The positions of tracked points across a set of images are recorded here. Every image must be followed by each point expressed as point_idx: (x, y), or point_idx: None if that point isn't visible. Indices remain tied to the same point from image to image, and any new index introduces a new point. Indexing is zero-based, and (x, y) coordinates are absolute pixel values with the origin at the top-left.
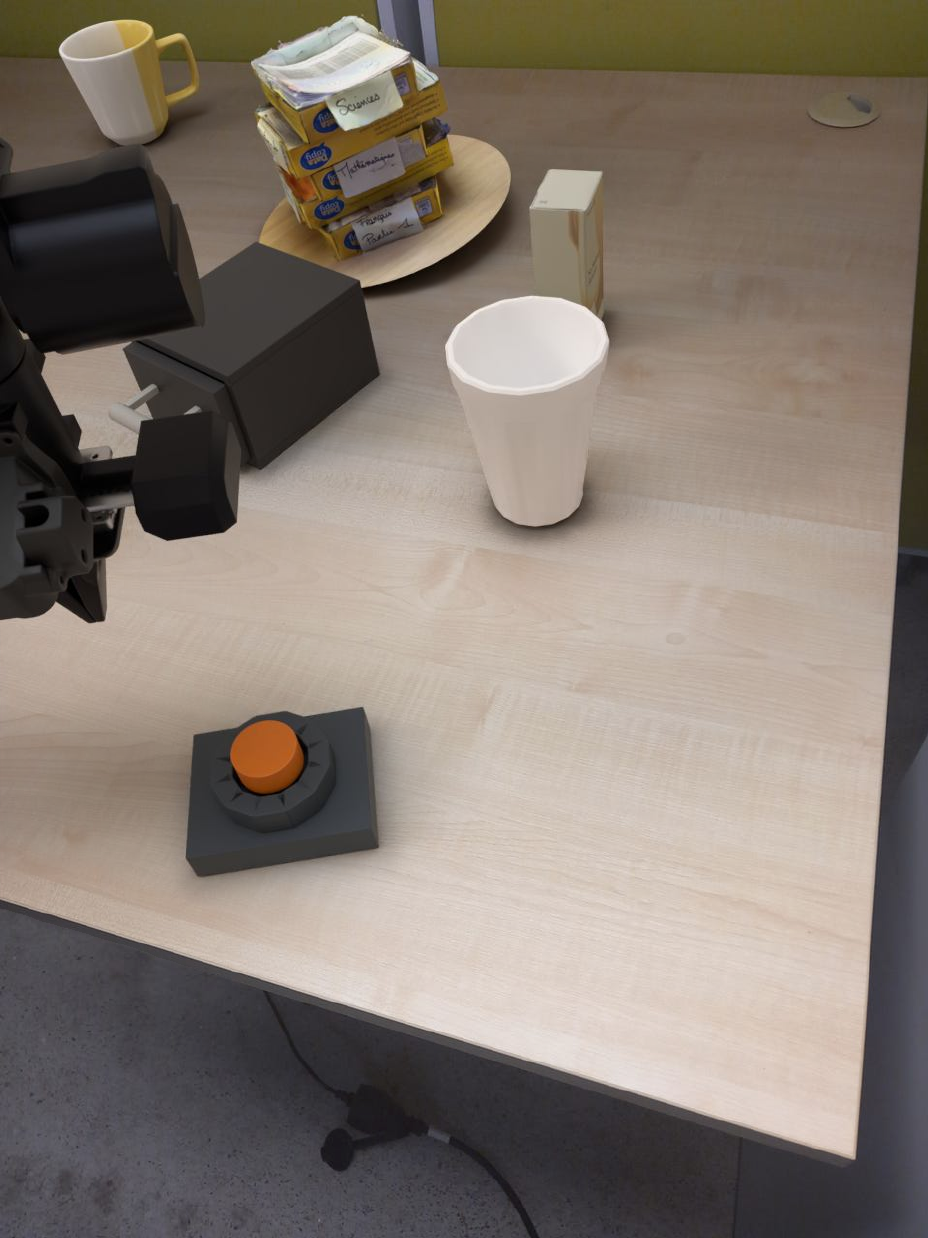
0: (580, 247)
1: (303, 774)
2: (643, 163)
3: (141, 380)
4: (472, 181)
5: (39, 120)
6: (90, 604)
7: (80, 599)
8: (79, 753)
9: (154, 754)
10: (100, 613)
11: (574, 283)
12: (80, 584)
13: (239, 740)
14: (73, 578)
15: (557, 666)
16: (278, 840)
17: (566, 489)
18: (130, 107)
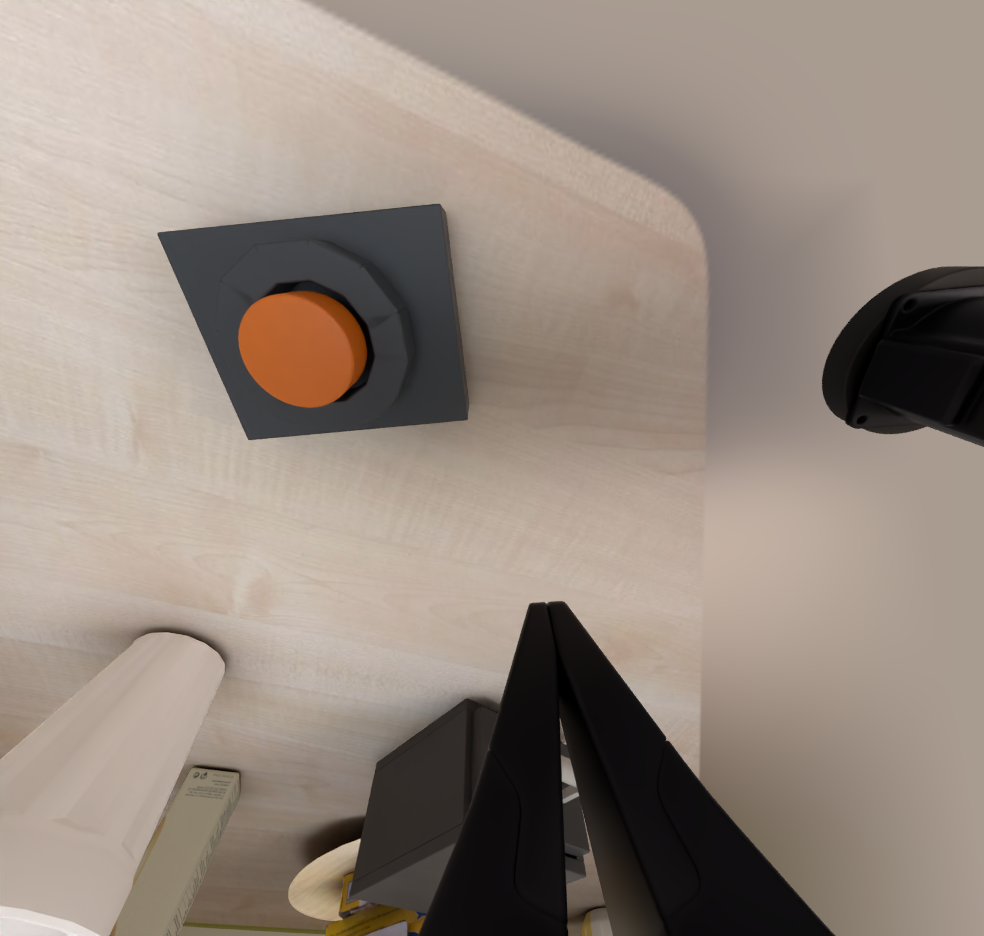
0: None
1: None
2: (213, 879)
3: (574, 804)
4: (324, 896)
5: None
6: (539, 664)
7: (566, 682)
8: (623, 420)
9: (531, 410)
10: (527, 628)
11: (151, 862)
12: (537, 774)
13: (342, 373)
14: (551, 825)
15: (74, 480)
16: (299, 224)
17: (98, 675)
18: None
